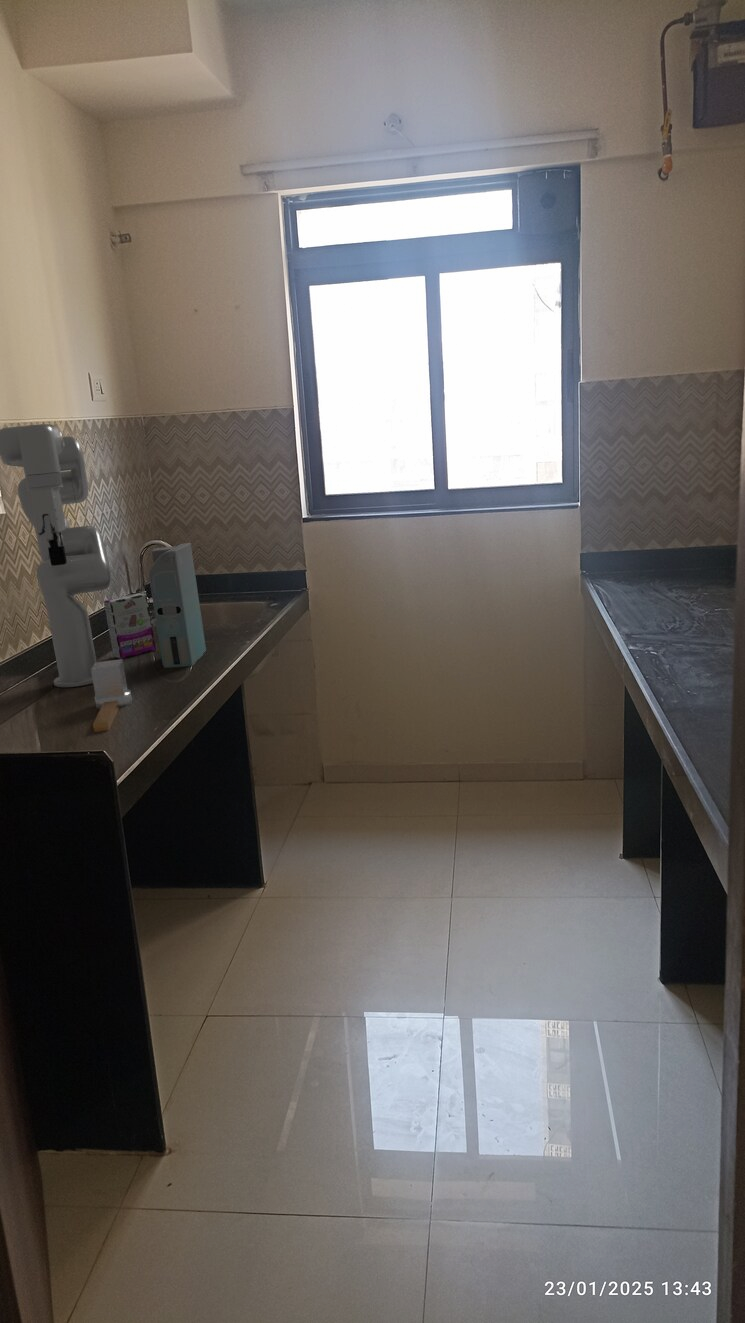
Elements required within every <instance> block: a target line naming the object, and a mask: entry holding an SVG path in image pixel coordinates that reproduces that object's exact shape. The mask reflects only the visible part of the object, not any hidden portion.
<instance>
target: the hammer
mask: <svg viewBox="0 0 745 1323" xmlns="http://www.w3.org/2000/svg"><path fill="white" fill-rule="evenodd" d="M94 701H95V708H96V709H98V710H99V711H98V713H97V715H96V717H95V719H94V721H93V723H92V727H93V732H94V733H99V732H107V731H110V729H111V728H112V725H113V723H114V720H115V718H116V716H117V713H118V711H119V709H120V708H123V707H127V706H129V705H131V704H132V702H133V697H132V690H131V689H129V688H127V690H126V693H125V695H124V696H117V697H109V698H101V699H96V696H95V695H94Z"/></svg>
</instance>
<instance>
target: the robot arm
mask: <svg viewBox="0 0 745 1323" xmlns="http://www.w3.org/2000/svg"><path fill="white" fill-rule="evenodd" d="M0 459H1V460H2V462H3V463H4V465H7V466H11V467H20V468H23V471H24V476H25V477H24V478H22V480H20V481H19V483H18V486H17V494H18V499H19V502H20V504H21V508H22V510H23V513H24V514H25V516H26V517H27V519H28V520H29V523H30V524H31V525H32V527H33V528H34V530H35V536H36V540H37V545H38V546H37V547H38V552H39V556H40V558H41V560H42V562H40V563H39V564H38V566H37V568H36V580H37V582H38V585H39V588H40V591H41V594H42V598H43V601H44V604H45V608H46V613H47V616H48V623H49V628H50V634H51V639H52V643H53V644H52V645H53V650H54V655H55V660H56V667H57V671H58V677H56V678H54V679H53V684H54V686H55V687H57V688H75V687H77V688H78V687H82V686H87V685H92V684H93V679H92V673H91V668H92V666H93V665H94V663H96V662H98V661H97V655H96V651H95V646H94V639H93V633H92V627H91V622H90V617H89V611H88V610H87V608H86V606H85V605H84V604H83V603H82V602H81V601H80V600H78V599H77V598H75V597H74V596H76V595H79V594H87V593H93V592H99V591H104V590H106V589H108V588H109V587H110V586H111V583H112V570H111V565H110V561H109V558H108V557H109V556H108V553H107V548H106V545H105V542H104V538H103V536H102V533H101V531H100V530H99V528H97V527H95V526H92V525H84V526H74V527H72V526H71V525H70V522H69V521H68V519H67V517H66V516H65V513H64V508H63V505H72V504H79V503H82V502H84V501H86V500H87V498H88V496H89V485H88V476H87V472H86V463H85V458H84V454H83V449H82V447H81V445H80V443H79V441H78V440H77V439H76V438H75V437H73V436H64V435H63V433H62V431H61V430H60V429H59V428H58V427H57V426H56V425H53V424H51V423H45V424H44V423H43V424H42V423H41V424H31V425H30V424H29V425H20V426H11V427H10V426H9V427H3V428H0ZM70 526H71V527H70Z"/></svg>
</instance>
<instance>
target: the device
mask: <svg viewBox="0 0 745 1323" xmlns="http://www.w3.org/2000/svg"><path fill="white" fill-rule="evenodd" d="M150 552H151V559H152V563H153V564H152V565H151V566H150V568H149V570H148V579H149V585H150V591H151V597H152V604H153V605H152V606H153V611H154V618H155V624H156V631H157V637H158V638H157V639H158V643H159V649H160V655H161V662H162V666H163V668H165V669H172V668H183V667H184V668H185V667H194V665H195V664H196V663H197V662H198V661H197V660H198V659H199V660H200V659H201V657H203V656H204V654H205V653H206V652H207V646H206V640H205V633H204V625H203V620H202V619H203V618H202V611H201V607H200V606H201V604H200V599H199V592H198V584H197V578H196V570H195V564H194V556H193V550H192V543H191V542H188V543H187V542H185V543H180V544H178V545H176V546H165V547H157V548H154V549H152V550H151V551H150ZM205 651H206V652H205ZM204 652H205V653H204ZM203 653H204V654H203ZM196 661H197V662H196Z"/></svg>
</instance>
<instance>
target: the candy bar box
mask: <svg viewBox="0 0 745 1323" xmlns="http://www.w3.org/2000/svg"><path fill="white" fill-rule="evenodd" d="M147 595H148V594H147V593H142V592H139V593H135V594H129V595H124V596H119V597H116V598H115V597H114V598H111V599H107V600H103V606H104V611H105V617H106V621H107V626H108V633H109V638H110V644H111V647H112V655H113V657H114V658H115V659H118V660H120V659H123V660H124V659H127V658H131V657H135V656H139V655H143V654H147V653H150V652H154V651H156V650H157V648H156V642H155V637H154V636H155V635H154V630H153V625H152V619H151V613H150V608H149V601H148V596H147Z"/></svg>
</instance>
